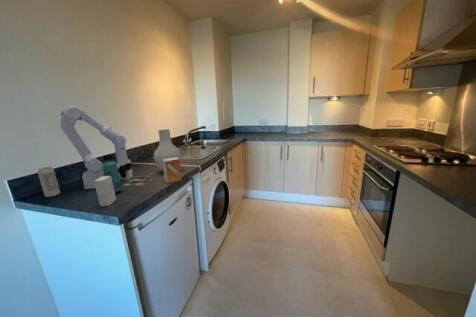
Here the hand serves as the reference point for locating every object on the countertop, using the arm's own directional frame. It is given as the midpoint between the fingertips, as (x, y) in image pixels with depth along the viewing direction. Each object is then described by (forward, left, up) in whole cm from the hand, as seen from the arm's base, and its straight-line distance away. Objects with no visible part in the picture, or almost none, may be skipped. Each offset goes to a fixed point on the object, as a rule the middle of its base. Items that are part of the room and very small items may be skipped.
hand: (125, 176), depth 124 cm
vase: (+24, +10, -2) cm, 26 cm away
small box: (+32, -9, -2) cm, 33 cm away
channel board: (+12, -9, -1) cm, 15 cm away
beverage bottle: (+6, -23, -2) cm, 24 cm away
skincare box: (+10, -35, -2) cm, 36 cm away
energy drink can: (-26, -22, -2) cm, 34 cm away
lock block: (0, 0, -1) cm, 1 cm away
